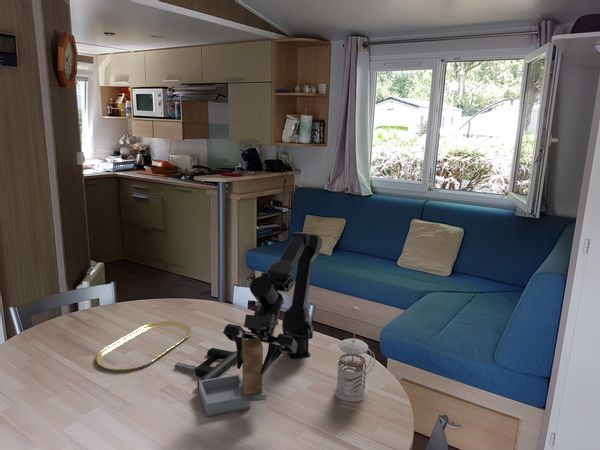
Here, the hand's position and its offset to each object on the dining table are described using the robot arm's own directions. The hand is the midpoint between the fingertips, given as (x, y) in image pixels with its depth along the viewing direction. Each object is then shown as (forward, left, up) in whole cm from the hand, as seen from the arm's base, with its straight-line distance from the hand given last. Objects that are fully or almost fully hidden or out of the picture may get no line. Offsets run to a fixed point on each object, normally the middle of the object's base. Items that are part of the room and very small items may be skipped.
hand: (249, 371), depth 113 cm
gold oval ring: (+22, -47, -13) cm, 53 cm away
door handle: (+6, -26, -13) cm, 30 cm away
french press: (-30, -2, -13) cm, 33 cm away
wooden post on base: (-1, -1, -7) cm, 7 cm away
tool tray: (+5, -9, -12) cm, 16 cm away
